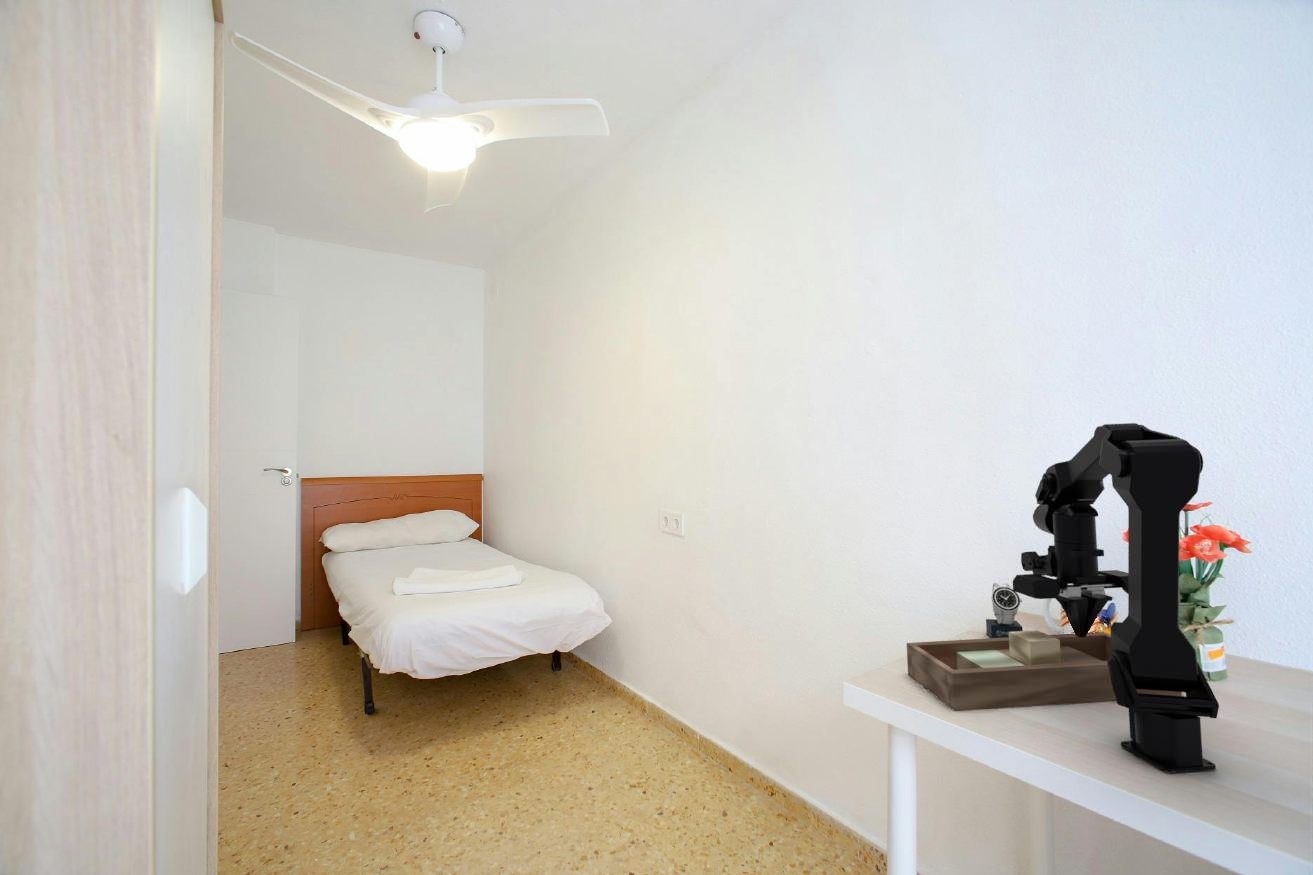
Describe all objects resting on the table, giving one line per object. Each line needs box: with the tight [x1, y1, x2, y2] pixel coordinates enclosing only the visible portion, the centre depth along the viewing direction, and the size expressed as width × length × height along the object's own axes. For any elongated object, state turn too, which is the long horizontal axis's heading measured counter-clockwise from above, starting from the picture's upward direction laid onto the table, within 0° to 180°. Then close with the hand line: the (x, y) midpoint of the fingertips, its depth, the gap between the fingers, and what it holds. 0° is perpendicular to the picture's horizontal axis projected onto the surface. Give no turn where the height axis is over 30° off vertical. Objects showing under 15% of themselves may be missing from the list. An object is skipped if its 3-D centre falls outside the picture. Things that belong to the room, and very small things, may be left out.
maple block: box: [1009, 629, 1061, 665], centre depth 93 cm, size 5×5×4 cm
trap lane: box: [906, 631, 1183, 712], centre depth 93 cm, size 14×36×6 cm, turn 93°
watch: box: [985, 582, 1024, 638], centre depth 116 cm, size 6×8×11 cm
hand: (1080, 636), depth 94 cm, fingers closed
